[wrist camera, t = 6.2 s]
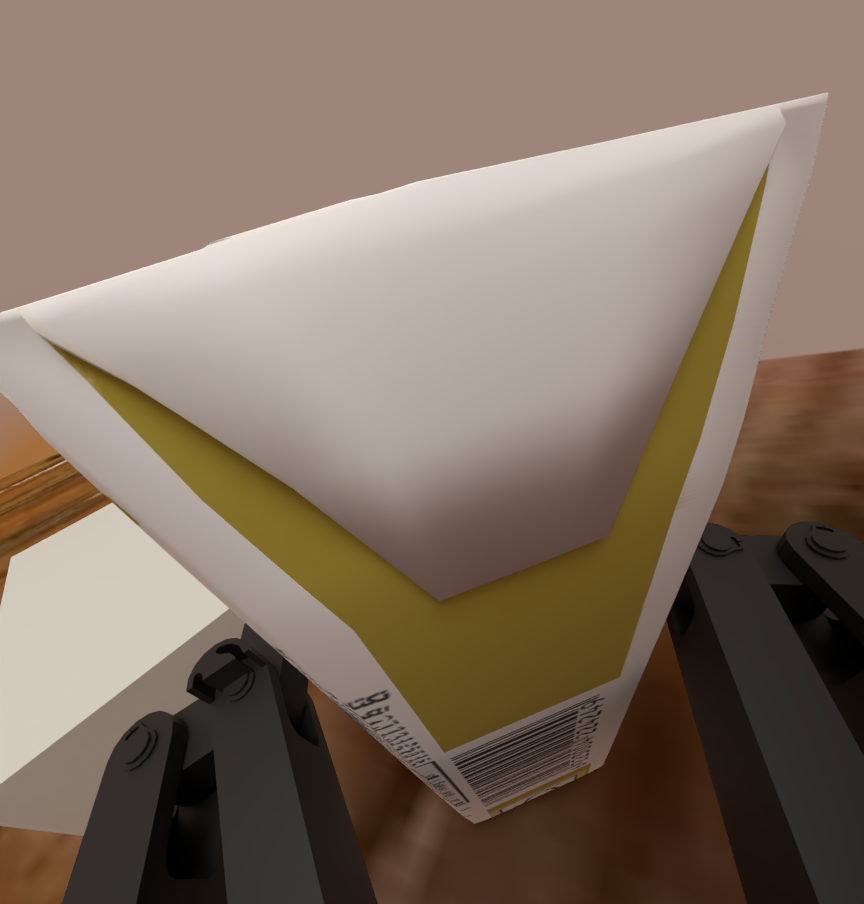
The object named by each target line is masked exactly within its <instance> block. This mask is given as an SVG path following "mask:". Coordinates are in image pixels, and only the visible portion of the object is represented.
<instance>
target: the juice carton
mask: <svg viewBox="0 0 864 904" xmlns="http://www.w3.org/2000/svg"><path fill="white" fill-rule="evenodd" d="M827 99H828V92H827V93H823V94H818V95H814V96H810V97H806V98H801V99H796V100H793V101H787V102H784V103H779V104H774V105H770V106H765V107H760V108H756V109H751V110H747V111H743V112H739V113H733V114H729V115H724V116H720V117H715V118H710V119H706V120H701V121H697V122H692V123H688V124H683V125H679V126H674V127H669V128H665V129H660V130H656V131H651V132H647V133H642V134H638V135H633V136H629V137H624V138H619V139H615V140H610V141H606V142H602V143H597V144H592V145H588V146H583V147H578V148H573V149H569V150H564V151H559V152H554V153H550V154H545V155H540V156H536V157H531V158H526V159H522V160H517V161H513V162H508V163H503V164H499V165H493V166H489V167H484V168H479V169H475V170H470V171H465V172H461V173H456V174H451V175H446V176H442V177H437V178H432V179H427V180H423V181H418V182H414V183H411V184H408V185H405V186H402V187H399V188H396V189H392V190H389V191H386V192H383V193H379V194H375V195H370V196H366V197H361V198H357V199H352V200H348V201H345V202H342V203H338V204H335V205H332V206H329V207H325V208H322V209H319V210H315V211H312V212H309V213H306V214H302V215H299V216H296V217H293V218H289V219H287V220H283V221H279V222H276V223H273V224H270V225H267V226H263V227H260V228H256V229H253V230H250V231H247V232H243V233H240V234H237V235H233V236H230V237H227V238H223V239H220V240H217V241H213V242H210V243H208V245H207V246H206V247H205V248H203V249H201V250H198V251H195V252H192V253H188V254H185V255H182V256H179V257H176V258H173V259H169V260H166V261H164V262H160V263H157V264H154V265H151V266H147V267H144V268H141V269H138V270H135V271H132V272H129V273H125V274H122V275H119V276H116V277H113V278H110V279H106V280H103V281H100V282H97V283H94V284H91V285H88V286H85V287H81V288H78V289H75V290H72V291H68V292H65V293H62V294H59V295H56V296H53V297H49V298H46V299H43V300H40V301H36V302H33V303H30V304H27V305H24V306H20V307H17V308H14V309H11V310H7V311H4V312H1V313H0V393H2V394H3V395H4V396H5V397H6V398H8V399H9V400H10V401H11V402H12V403H13V404H14V405H15V406H16V407H17V409H19V411H20V412H21V413H22V414H23V416H24V417H25V418H26V419H27V420H28V421H29V422H30V424H31V425H32V426H33V427H34V428H35V429H36V430H37V431H38V433H39V434H40V435H41V436H42V437H43V438H44V439H45V441H47V442H48V443H49V444H50V445H51V446H52V447H53V448H54V449H55V450H56V451H57V452H58V453H60V454H61V455H62V456H63V457H64V458H65V459H66V460H67V461H68V462H69V463H70V464H71V465H72V466H74V467H75V468H76V469H77V470H78V471H79V472H80V473H81V474H82V475H83V476H84V477H85V478H87V479H88V480H89V481H90V482H91V483H92V484H93V485H94V486H95V487H96V488H97V489H98V490H99V491H101V492H102V493H103V494H104V495H105V496H106V497H107V498H108V499H109V500H110V501H111V502H112V503H114V504H115V505H116V506H117V507H118V508H119V509H120V510H121V511H122V512H123V513H124V514H126V515H127V516H128V517H129V518H130V519H131V520H132V521H133V522H134V523H135V524H136V525H138V526H139V527H140V528H141V529H142V530H143V531H144V532H145V533H146V534H147V535H148V536H150V537H151V538H152V539H153V540H154V541H155V542H156V543H157V544H158V545H159V546H160V547H162V548H163V549H164V550H165V551H166V552H167V553H168V554H169V555H170V556H172V557H173V558H174V559H175V560H176V561H177V562H178V563H179V564H180V565H181V566H183V567H184V568H185V569H186V570H187V571H188V572H189V573H190V574H191V575H193V576H194V577H195V578H196V579H197V580H198V581H199V582H200V583H201V584H203V585H204V586H205V587H206V588H207V589H208V590H209V591H210V592H212V593H213V594H214V595H215V596H216V597H217V598H218V599H219V600H220V601H222V602H223V603H224V604H225V605H226V606H227V607H228V608H229V609H231V610H232V611H233V612H234V613H235V614H236V615H237V616H238V617H239V618H241V619H242V620H243V621H244V622H245V623H246V624H247V625H248V626H250V627H251V628H252V629H253V630H254V631H255V632H256V633H257V634H258V635H260V636H261V637H262V638H263V639H264V640H265V641H266V642H267V643H269V644H270V645H271V646H272V647H273V648H274V649H275V650H276V651H277V652H279V653H280V654H281V655H282V656H283V657H284V658H285V659H286V660H288V661H289V662H290V663H291V664H292V665H293V666H294V667H295V668H296V669H298V670H299V671H300V672H301V673H302V674H303V675H304V676H305V677H307V678H308V679H309V680H310V681H311V682H312V683H313V684H314V685H315V686H317V687H318V688H319V689H320V690H321V691H322V692H323V693H324V694H326V695H327V696H328V697H329V698H330V699H331V700H332V701H333V702H334V703H336V704H337V705H338V706H339V707H340V708H341V709H342V710H343V711H345V712H346V713H347V714H348V715H349V716H350V717H351V718H352V719H353V720H355V721H356V722H357V723H358V724H359V725H360V726H361V727H362V728H364V729H365V730H366V731H367V732H368V733H369V734H370V735H371V736H373V737H374V738H375V739H376V740H377V741H378V742H379V743H380V744H381V745H383V746H384V747H385V748H386V749H387V750H388V751H389V752H390V753H392V754H393V755H394V756H395V757H396V758H397V759H398V760H399V761H400V762H402V763H403V764H404V765H405V766H406V767H407V768H408V769H409V770H411V771H412V772H413V773H414V774H415V775H416V776H417V777H418V778H419V779H421V780H422V781H423V782H424V783H425V784H426V785H427V786H428V787H430V788H431V789H432V790H433V791H434V792H435V793H436V794H438V795H439V796H440V797H441V798H442V799H443V800H444V801H446V802H447V803H448V804H449V805H450V806H451V807H453V808H454V809H455V810H456V811H457V812H458V813H460V814H461V815H462V816H463V817H465V818H466V819H468V820H469V821H471V822H472V823H474V824H475V823H478V822H481V821H484V820H487V819H489V818H492V817H494V816H496V815H499V814H501V813H503V812H505V811H507V810H510V809H512V808H514V807H516V806H518V805H521V804H523V803H525V802H527V801H529V800H532V799H534V798H536V797H538V796H540V795H542V794H545V793H547V792H549V791H551V790H553V789H556V788H558V787H560V786H562V785H564V784H567V783H569V782H571V781H573V780H575V779H578V778H580V777H582V776H584V775H586V774H588V773H590V772H592V771H594V770H595V769H597V768H599V767H601V766H603V764H604V762H605V760H606V758H607V755H608V753H609V751H610V749H611V746H612V744H613V742H614V739H615V737H616V735H617V732H618V730H619V728H620V725H621V723H622V721H623V718H624V716H625V714H626V711H627V709H628V707H629V704H630V702H631V700H632V697H633V695H634V693H635V691H636V688H637V686H638V684H639V681H640V679H641V677H642V674H643V672H644V670H645V667H646V665H647V663H648V660H649V658H650V656H651V653H652V651H653V649H654V646H655V644H656V642H657V639H658V637H659V635H660V632H661V630H662V628H663V625H664V623H665V621H666V618H667V616H668V614H669V611H670V609H671V607H672V604H673V602H674V600H675V598H676V595H677V593H678V591H679V588H680V586H681V583H682V581H683V579H684V576H685V574H686V572H687V569H688V567H689V564H690V562H691V560H692V557H693V555H694V553H695V550H696V548H697V545H698V543H699V541H700V538H701V536H702V534H703V531H704V529H705V526H706V524H707V522H708V519H709V517H710V515H711V512H712V510H713V507H714V505H715V503H716V500H717V498H718V496H719V493H720V491H721V488H722V486H723V483H724V480H725V477H726V474H727V470H728V467H729V464H730V461H731V458H732V455H733V451H734V448H735V445H736V442H737V439H738V436H739V432H740V429H741V426H742V423H743V419H744V415H745V411H746V408H747V404H748V400H749V396H750V392H751V389H752V385H753V381H754V377H755V373H756V369H757V366H758V362H759V358H760V354H761V350H762V346H763V343H764V339H765V335H766V331H767V327H768V324H769V320H770V316H771V312H772V308H773V305H774V301H775V298H776V294H777V291H778V288H779V284H780V280H781V277H782V274H783V270H784V267H785V263H786V260H787V257H788V253H789V249H790V246H791V243H792V239H793V236H794V232H795V229H796V225H797V222H798V218H799V215H800V211H801V208H802V205H803V201H804V197H805V194H806V191H807V187H808V184H809V181H810V177H811V174H812V170H813V165H814V161H815V157H816V152H817V147H818V142H819V138H820V133H821V128H822V124H823V119H824V115H825V109H826V105H827Z"/></svg>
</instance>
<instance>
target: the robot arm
mask: <svg viewBox="0 0 864 904" xmlns="http://www.w3.org/2000/svg"><path fill="white" fill-rule="evenodd" d="M666 620H667V623H668V627H669V630H670V634H671V637H672V641H673V644H674V648H675V651H676V655H677V659H678V662H679V666H680V669H681V673H682V676H683V680H684V683H685V687H686V690H687V694H688V697H689V701H690V704H691V708H692V711H693V715H694V718H695V722H696V725H697V729H698V732H699V736H700V739H701V743H702V746H703V750H704V753H705V757H706V760H707V764H708V768H709V771H710V775H711V778H712V782H713V785H714V789H715V792H716V796H717V799H718V803H719V806H720V810H721V813H722V817H723V820H724V824H725V827H726V831H727V834H728V838H729V841H730V845H731V848H732V852H733V855H734V859H735V862H736V866H737V869H738V873H739V877H740V880H741V884H742V887H743V891H744V894H745V898H746V901H747V904H864V756H863V755H864V544H863V543H862V542H861V541H859V540H858V539H856V538H855V537H853V536H852V535H850V534H849V533H847V532H845V531H843V530H840V529H838V528H836V527H833V526H831V525H827V524H822V523H817V522H799V523H796V524H792V525H790V527H789V528H788V529H787V530H786V532H785V533H784V535H783V536H744V535H738V534H736V533H735V532H733V531H732V530H730V529H728V528H725V527H723V526H720V525H718V524H712V523H707V524H706V526H705V529H704V531H703V534H702V536H701V538H700V541H699V543H698V545H697V548H696V550H695V553H694V555H693V557H692V560H691V562H690V564H689V567H688V569H687V572H686V574H685V576H684V579H683V581H682V583H681V586H680V588H679V591H678V593H677V595H676V598H675V600H674V602H673V604H672V607H671V609H670V611H669V614H668V616H667V618H666ZM307 688H308V678H307V677H305V676H304V675H303V674H302V673H301V672H300V671H299V670H298V669H296V668H295V667H294V666H293V665H292V664H291V663H290V662H289V661H288V660H286V659H285V658H284V657H283V656H282V655H281V654H280V653H279V652H277V651H276V650H275V649H274V648H273V647H272V646H271V645H270V644H269V643H267V642H266V641H265V640H264V639H263V638H262V637H261V636H260V635H258V634H257V633H256V632H255V631H254V630H253V629H252V628H251V627H250V626H248V625H247V624H246V623H245V624H244V627H243V631H242V635H241V639H239V638H230V639H225V640H223V641H221V642H219V643H217V644H215V645H214V646H213V647H212V648H210V649H209V650H208V651H207V652H205V653H204V654H203V656H202V657H201V658H200V659H199V661H198V662H197V663H196V664H195V666H194V668H193V670H192V672H191V674H190V676H189V678H188V682H187V689H186V692H188V693H190V694H191V695H193V696H195V697H197V698H199V699H198V700H196V701H195V702H193V703H192V704H190V705H189V706H187V707H185V708H184V709H182V710H181V711H179V712H178V713H176V714H174V715H172V714H169V713H167V712H163V711H156V712H153V713H149V714H147V715H146V716H144V717H143V718H141V719H140V720H138V721H137V722H135V723H134V724H133V725H132V726H131V727H130V728H129V729H128V730H127V731H126V732H125V733H124V735H123V736H122V737H121V739H120V740H119V742H118V743H117V744H116V746H115V747H114V749H113V751H112V753H111V755H110V758H109V760H108V762H107V764H106V768H105V771H104V774H103V777H102V780H101V783H100V786H99V789H98V793H97V796H96V799H95V802H94V805H93V808H92V811H91V814H90V818H89V821H88V824H87V827H86V830H85V833H84V836H83V839H82V843H81V846H80V849H79V852H78V855H77V858H76V861H75V864H74V868H73V871H72V874H71V877H70V880H69V883H68V886H67V890H66V893H65V896H64V899H63V902H62V904H378V903H377V900H376V897H375V894H374V891H373V888H372V885H371V882H370V878H369V875H368V872H367V869H366V866H365V863H364V860H363V856H362V853H361V850H360V847H359V844H358V841H357V838H356V835H355V831H354V828H353V825H352V822H351V819H350V816H349V813H348V809H347V806H346V803H345V800H344V797H343V794H342V791H341V788H340V784H339V781H338V778H337V775H336V772H335V769H334V766H333V762H332V759H331V756H330V753H329V750H328V747H327V744H326V741H325V737H324V734H323V731H322V728H321V725H320V722H319V719H318V715H317V712H316V709H315V706H314V703H313V701H312V699H311V697H310V696H309V694H308V693H307ZM862 753H863V754H862Z"/></svg>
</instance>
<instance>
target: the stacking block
mask: <svg viewBox="0 0 864 904" xmlns="http://www.w3.org/2000/svg"><path fill="white" fill-rule="evenodd" d="M244 624H245V622H244V621H243V620H242V619H241V618H239V617H238V616H237V615H236V614H235V613H234V612H233V611H232V610H231V609H229V608H228V607H227V606H226V605H225V604H224V603H223V602H222V601H220V600H219V599H218V598H217V597H216V596H215V595H214V594H213V593H212V592H210V591H209V590H208V589H207V588H206V587H205V586H204V585H203V584H201V583H200V582H199V581H198V580H197V579H196V578H195V577H194V576H193V575H191V574H190V573H189V572H188V571H187V570H186V569H185V568H184V567H183V566H181V565H180V564H179V563H178V562H177V561H176V560H175V559H174V558H173V557H172V556H170V555H169V554H168V553H167V552H166V551H165V550H164V549H163V548H162V547H160V546H159V545H158V544H157V543H156V542H155V541H154V540H153V539H152V538H151V537H150V536H148V535H147V534H146V533H145V532H144V531H143V530H142V529H141V528H140V527H139V526H138V525H136V524H135V523H134V522H133V521H132V520H131V519H130V518H129V517H128V516H127V515H126V514H124V513H123V512H122V511H121V510H120V509H119V508H118V507H117V506H116V505H115V504H114V503H111V504H109V505H107V506H106V507H104V508H102V509H100V510H98V511H96V512H94V513H93V514H91V515H89V516H87V517H85V518H83V519H81V520H80V521H78V522H76V523H74V524H72V525H70V526H69V527H67V528H65V529H63V530H61V531H59V532H57V533H56V534H54V535H52V536H50V537H48V538H46V539H44V540H43V541H41V542H39V543H37V544H35V545H33V546H32V547H30V548H28V549H26V550H24V551H22V552H20V553H19V554H17V555H15V556H13V557H11V561H10V565H9V570H8V574H7V579H6V583H5V588H4V592H3V597H2V601H1V606H0V826H6V827H14V828H22V829H30V830H39V831H47V832H55V833H63V834H71V835H80V836H84V833H85V830H86V827H87V824H88V821H89V818H90V814H91V811H92V808H93V805H94V802H95V799H96V796H97V793H98V789H99V786H100V783H101V780H102V777H103V774H104V771H105V768H106V764H107V762H108V760H109V758H110V755H111V753H112V751H113V749H114V747H115V746H116V744H117V743H118V742H119V740H120V739H121V737H122V736H123V735H124V733H125V732H126V731H127V730H128V729H129V728H130V727H131V726H132V725H133V724H134V723H135V722H137V721H138V720H140V719H141V718H143V717H144V716H146V715H147V714H149V713H153V712H156V711H163V712H167V713H169V714H172V715H174V714H176V713H178V712H179V711H181V710H182V709H184V708H185V707H187V706H189V705H190V704H192V703H193V702H195V701H196V700H198V699H199V698H197V697H195V696H193V695H191V694H190V693H188V692H186V689H187V682H188V678H189V676H190V674H191V672H192V670H193V668H194V666H195V664H196V663H197V662H198V661H199V659H200V658H201V657H202V656H203V654H204V653H205V652H207V651H208V650H209V649H210V648H212V647H213V646H214V645H215V644H217V643H219V642H221V641H223V640H225V639H230V638H239V639H241V635H242V631H243V627H244Z"/></svg>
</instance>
